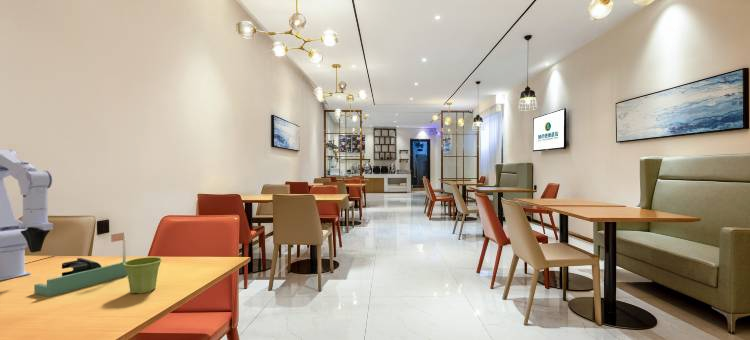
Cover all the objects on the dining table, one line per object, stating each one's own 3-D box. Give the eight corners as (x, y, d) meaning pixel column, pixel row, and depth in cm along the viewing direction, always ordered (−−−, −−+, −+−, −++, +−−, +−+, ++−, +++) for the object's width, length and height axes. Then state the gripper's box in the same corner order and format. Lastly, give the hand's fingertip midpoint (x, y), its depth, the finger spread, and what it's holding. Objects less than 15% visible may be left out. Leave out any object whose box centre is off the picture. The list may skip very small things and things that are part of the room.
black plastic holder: (102, 281, 112) (102, 259, 112) (74, 287, 106) (74, 264, 106) (88, 276, 117) (88, 256, 117) (61, 282, 111) (61, 260, 111)
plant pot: (166, 290, 103) (166, 260, 103) (127, 298, 96) (127, 267, 96) (156, 283, 109) (156, 255, 109) (119, 291, 102) (119, 261, 102)
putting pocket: (34, 293, 101) (34, 242, 101) (116, 272, 122) (116, 230, 122) (49, 296, 98) (49, 244, 98) (130, 274, 119) (130, 231, 119)
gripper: (6, 209, 111) (6, 252, 111) (32, 211, 106) (32, 256, 106) (34, 207, 118) (34, 248, 118) (60, 208, 112) (60, 251, 112)
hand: (35, 251), depth 112 cm, fingers closed
